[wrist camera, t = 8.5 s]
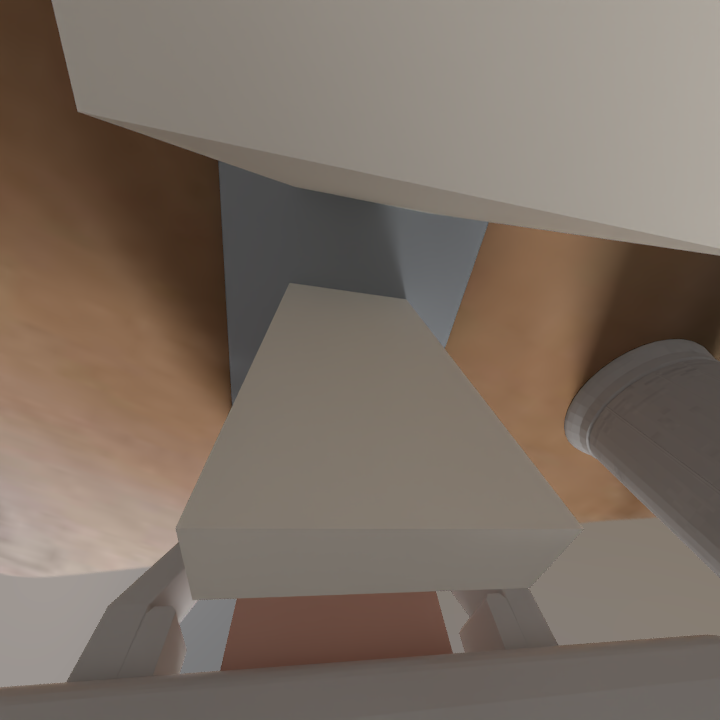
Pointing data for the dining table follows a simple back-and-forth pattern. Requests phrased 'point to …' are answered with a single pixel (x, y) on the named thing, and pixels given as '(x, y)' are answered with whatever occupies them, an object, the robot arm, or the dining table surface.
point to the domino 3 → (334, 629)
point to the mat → (333, 255)
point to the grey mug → (659, 435)
